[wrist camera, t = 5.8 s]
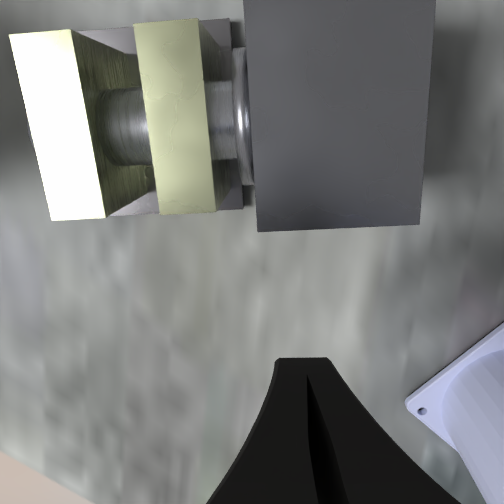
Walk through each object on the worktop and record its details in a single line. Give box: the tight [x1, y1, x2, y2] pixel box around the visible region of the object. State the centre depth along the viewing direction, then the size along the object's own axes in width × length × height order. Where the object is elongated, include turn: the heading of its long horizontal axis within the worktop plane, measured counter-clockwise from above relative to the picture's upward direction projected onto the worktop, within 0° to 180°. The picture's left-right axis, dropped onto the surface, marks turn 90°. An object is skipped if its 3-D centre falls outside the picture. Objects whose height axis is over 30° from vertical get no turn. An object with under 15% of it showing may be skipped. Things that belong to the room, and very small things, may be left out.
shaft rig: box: [9, 18, 255, 221], centre depth 15 cm, size 13×8×6 cm, turn 94°
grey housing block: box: [243, 0, 436, 232], centre depth 14 cm, size 5×7×7 cm
